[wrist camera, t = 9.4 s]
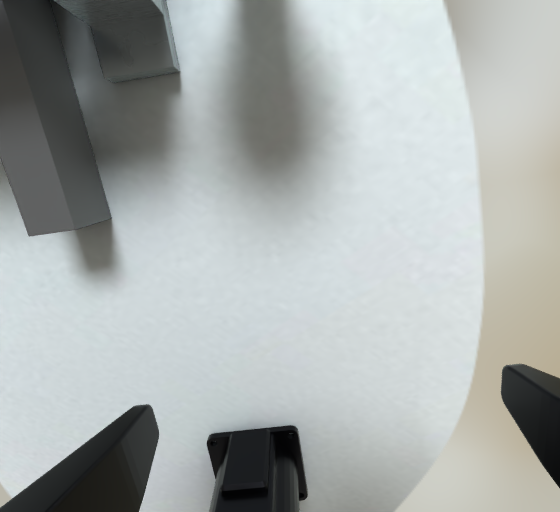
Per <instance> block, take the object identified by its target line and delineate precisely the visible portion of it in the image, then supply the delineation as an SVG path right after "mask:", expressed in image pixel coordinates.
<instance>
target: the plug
mask: <svg viewBox="0 0 560 512" xmlns="http://www.w3.org/2000/svg"><path fill="white" fill-rule="evenodd" d="M0 158H1V160H2V163H3V166H4V169H5V171H6V174H7V177H8V180H9V182H10V185H11V188H12V191H13V194H14V196H15V199H16V202H17V205H18V207H19V210H20V213H21V216H22V219H23V221H24V224H25V227H26V230H27V232H28V235H29V236H35V235H42V234H49V233H56V232H63V231H70V230H76V229H79V228H83V227H86V226H89V225H92V224H95V223H98V222H101V221H105V220H108V219H111V218H112V217H111V214H110V210H109V207H108V203H107V200H106V196H105V193H104V189H103V186H102V182H101V179H100V175H99V172H98V168H97V165H96V161H95V158H94V154H93V151H92V147H91V144H90V140H89V137H88V133H87V130H86V126H85V123H84V119H83V116H82V112H81V109H80V105H79V102H78V98H77V95H76V91H75V88H74V84H73V81H72V77H71V74H70V70H69V67H68V63H67V60H66V56H65V53H64V49H63V46H62V42H61V39H60V35H59V32H58V28H57V25H56V21H55V18H54V14H53V11H52V7H51V4H50V0H0Z"/></svg>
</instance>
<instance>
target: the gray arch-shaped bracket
mask: <svg viewBox="0 0 560 512" xmlns="http://www.w3.org/2000/svg"><path fill="white" fill-rule="evenodd" d="M53 1H55V2H56V3H58V4H59V5H61V6H62V7H63V8H65V9H66V10H68V11H69V12H71V13H72V14H73V15H75V16H76V17H78V18H79V19H81V20H82V21H83V22H85V23H86V24H88V25H89V26H91V30H92V33H93V37H94V41H95V45H96V49H97V53H98V57H99V60H100V64H101V68H102V72H103V76H104V78H105V79H107V80H109V81H112V82H114V83H115V82H121V81H127V80H133V79H139V78H146V77H152V76H158V75H164V74H170V73H176V72H180V68H179V63H178V58H177V53H176V48H175V43H174V38H173V33H172V28H171V24H170V19H169V14H168V9H167V4H166V0H53Z"/></svg>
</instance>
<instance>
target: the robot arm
mask: <svg viewBox="0 0 560 512" xmlns="http://www.w3.org/2000/svg"><path fill="white" fill-rule="evenodd" d="M501 395H502V399H503V402H504V404H505V406H506V407H507V409H508V411H509V412H510V414H511V415H512V417H513V419H514V420H515V422H516V424H517V425H518V427H519V428H520V430H521V432H522V433H523V434H524V436H525V438H526V439H527V441H528V443H529V444H530V446H531V448H532V449H533V451H534V453H535V454H536V455H537V457H538V459H539V460H540V462H541V463H542V465H543V466H544V468H545V469H546V470H547V472H548V473H549V474H550V476H551V477H552V479H553V480H554V481H555V483H556V484H557V485H558V487H559V488H560V378H557V377H555V376H552V375H550V374H547V373H545V372H542V371H540V370H537V369H534V368H532V367H529V366H527V365H524V364H514V365H506V366H504V367H503V370H502V385H501ZM289 433H293V434H289ZM158 439H159V429H158V425H157V422H156V419H155V415H154V412H153V409H152V407H151V406H150V405H148V404H146V405H137V406H134V407H132V408H131V409H129V410H128V411H127V412H125V413H124V414H123V415H121V416H120V417H119V418H117V419H116V420H115V421H114V422H112V423H111V424H110V425H108V426H107V427H106V428H104V429H103V430H102V431H100V432H99V433H98V434H96V435H95V436H94V437H93V438H91V439H90V440H89V441H87V442H86V443H85V444H83V445H82V446H81V447H79V448H78V449H77V450H75V451H74V452H73V453H72V454H70V455H69V456H68V457H66V458H65V459H64V460H62V461H61V462H60V463H58V464H57V465H56V466H54V467H53V468H52V469H51V470H49V471H48V472H47V473H45V474H44V475H43V476H41V477H40V478H39V479H37V480H36V481H35V482H33V483H32V484H31V485H30V486H28V487H27V488H26V489H24V490H23V491H22V492H20V493H19V494H18V495H16V496H15V497H14V498H12V499H11V500H10V501H9V502H7V503H6V504H5V505H3V506H2V507H1V508H0V512H139V509H140V506H141V503H142V500H143V496H144V493H145V489H146V485H147V482H148V478H149V474H150V470H151V466H152V462H153V458H154V455H155V451H156V447H157V443H158ZM213 441H216V442H213ZM207 447H208V451H209V455H210V459H211V463H212V467H213V471H214V475H215V479H216V482H215V487H214V491H213V496H212V500H211V505H210V510H209V512H299V501H301V500H305V499H306V498H307V495H308V494H307V485H306V479H305V472H304V466H303V459H302V453H301V446H300V440H299V434H298V429H297V428H296V427H295V426H281V427H271V428H262V429H252V430H243V431H233V432H223V433H214V434H211V435H209V437H208V440H207Z"/></svg>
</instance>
